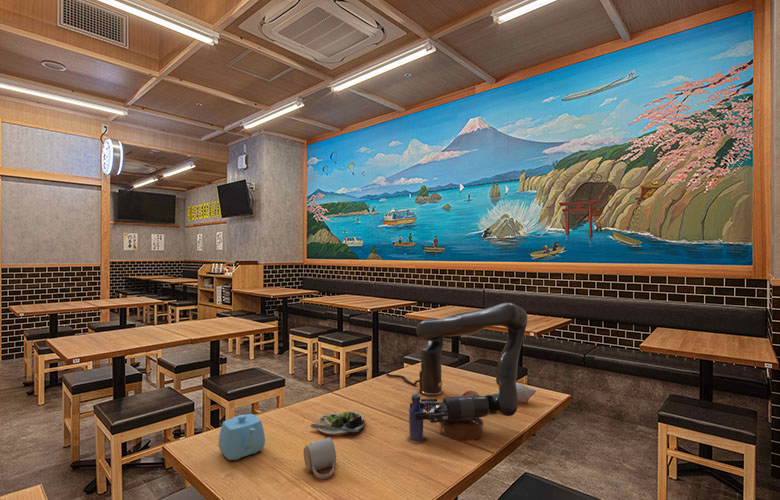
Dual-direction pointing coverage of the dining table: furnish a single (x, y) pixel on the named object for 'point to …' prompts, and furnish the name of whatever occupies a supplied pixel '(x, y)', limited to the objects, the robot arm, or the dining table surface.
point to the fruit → (470, 393)
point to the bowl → (462, 429)
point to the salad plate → (340, 423)
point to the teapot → (241, 436)
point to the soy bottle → (414, 424)
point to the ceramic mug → (320, 457)
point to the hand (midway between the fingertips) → (412, 411)
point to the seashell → (523, 393)
